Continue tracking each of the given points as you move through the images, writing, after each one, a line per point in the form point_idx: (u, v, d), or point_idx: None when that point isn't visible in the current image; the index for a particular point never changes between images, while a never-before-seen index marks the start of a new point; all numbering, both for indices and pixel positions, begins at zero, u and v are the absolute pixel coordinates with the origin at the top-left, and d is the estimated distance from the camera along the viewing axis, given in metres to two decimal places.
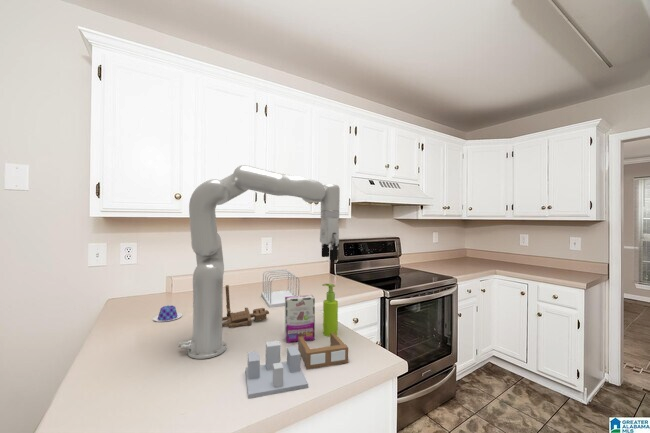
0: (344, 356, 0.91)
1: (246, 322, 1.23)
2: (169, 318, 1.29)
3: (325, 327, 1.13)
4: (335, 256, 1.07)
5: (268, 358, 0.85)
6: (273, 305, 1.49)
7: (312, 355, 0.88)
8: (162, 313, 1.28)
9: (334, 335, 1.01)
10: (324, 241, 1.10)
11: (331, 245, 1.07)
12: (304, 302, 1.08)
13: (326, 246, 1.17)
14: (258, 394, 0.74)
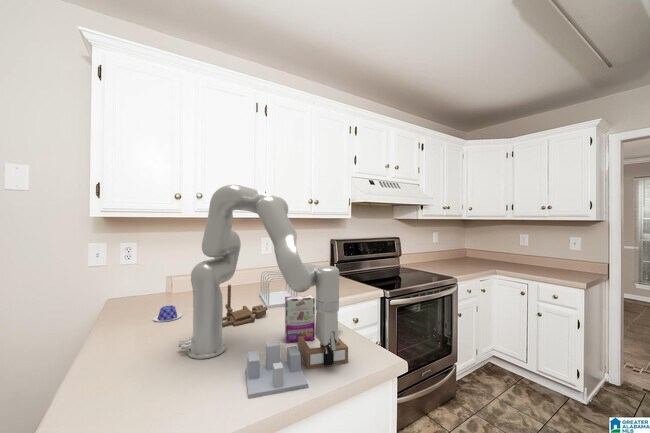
0: (344, 356, 0.91)
1: (250, 319, 1.26)
2: (170, 318, 1.29)
3: None
4: (330, 361, 0.88)
5: (268, 358, 0.85)
6: (271, 306, 1.48)
7: (312, 355, 0.88)
8: (162, 313, 1.28)
9: None
10: (320, 340, 0.88)
11: (326, 349, 0.88)
12: (304, 302, 1.08)
13: None
14: (258, 394, 0.74)
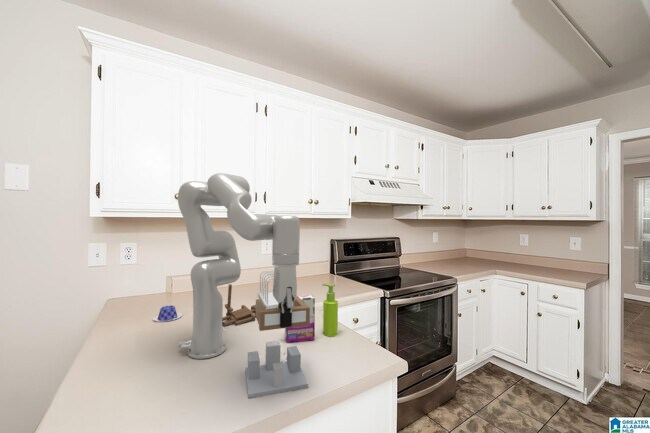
0: (305, 317, 0.80)
1: (251, 318, 1.28)
2: (170, 318, 1.29)
3: (325, 327, 1.13)
4: (287, 322, 0.77)
5: (268, 358, 0.85)
6: (270, 306, 1.47)
7: (267, 315, 0.77)
8: (163, 313, 1.28)
9: (297, 298, 0.90)
10: (276, 297, 0.77)
11: (282, 308, 0.77)
12: (304, 302, 1.08)
13: None
14: (258, 394, 0.74)
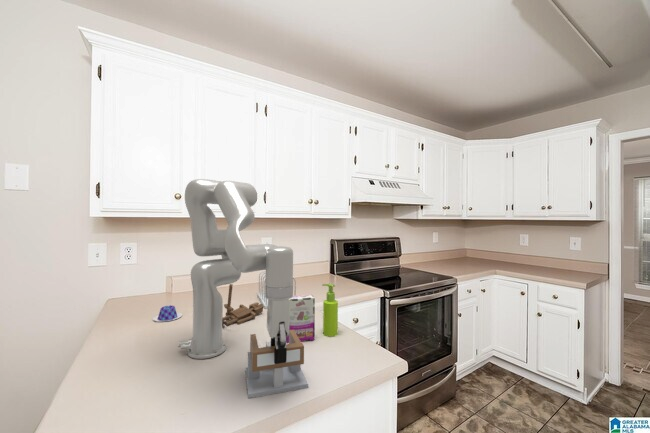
0: (299, 356, 0.78)
1: (251, 316, 1.30)
2: (171, 318, 1.29)
3: (325, 327, 1.13)
4: (282, 358, 0.74)
5: None
6: None
7: (259, 355, 0.75)
8: (163, 313, 1.28)
9: (292, 332, 0.88)
10: (269, 331, 0.76)
11: (276, 343, 0.74)
12: (304, 302, 1.08)
13: (277, 336, 0.81)
14: (258, 394, 0.74)
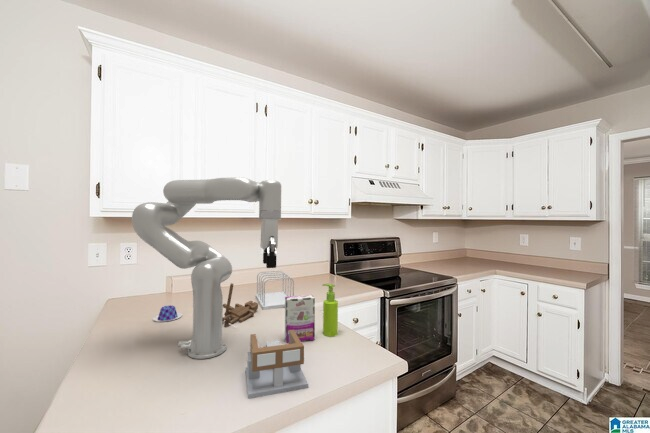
0: (299, 356, 0.78)
1: (250, 314, 1.33)
2: (172, 317, 1.30)
3: (325, 327, 1.13)
4: (272, 263, 0.93)
5: None
6: (267, 307, 1.45)
7: (259, 355, 0.75)
8: (165, 313, 1.28)
9: (292, 332, 0.88)
10: (261, 246, 0.96)
11: (267, 250, 0.93)
12: (304, 302, 1.08)
13: None
14: (258, 394, 0.74)
